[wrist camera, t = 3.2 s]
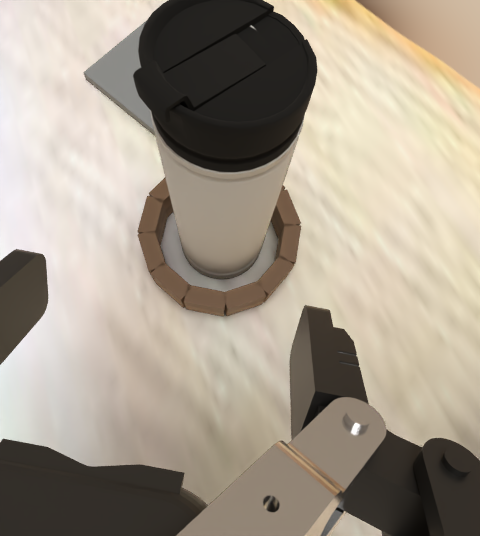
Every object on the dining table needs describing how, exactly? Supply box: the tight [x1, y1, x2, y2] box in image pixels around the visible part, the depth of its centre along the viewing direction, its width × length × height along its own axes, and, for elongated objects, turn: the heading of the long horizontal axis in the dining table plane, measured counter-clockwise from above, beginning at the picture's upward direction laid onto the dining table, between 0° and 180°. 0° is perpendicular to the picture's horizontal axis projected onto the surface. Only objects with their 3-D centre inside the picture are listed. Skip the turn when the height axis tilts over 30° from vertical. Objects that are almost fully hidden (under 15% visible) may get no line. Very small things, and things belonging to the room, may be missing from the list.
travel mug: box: [133, 0, 317, 279], centre depth 23 cm, size 6×7×20 cm
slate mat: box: [84, 22, 155, 135], centre depth 36 cm, size 13×13×1 cm
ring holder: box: [138, 178, 301, 316], centre depth 31 cm, size 11×11×3 cm
